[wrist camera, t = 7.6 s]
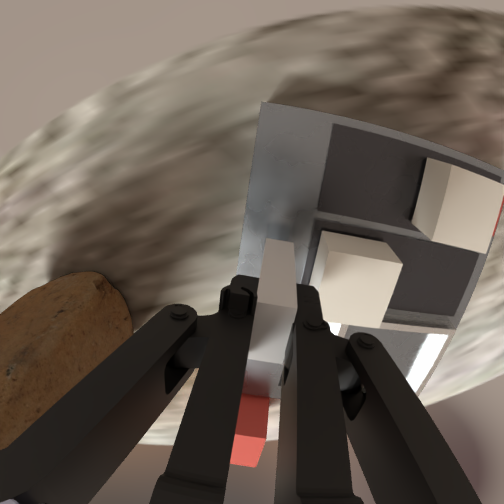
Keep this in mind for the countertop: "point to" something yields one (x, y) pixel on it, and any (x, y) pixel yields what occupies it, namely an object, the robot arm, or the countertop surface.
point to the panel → (358, 226)
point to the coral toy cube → (250, 430)
